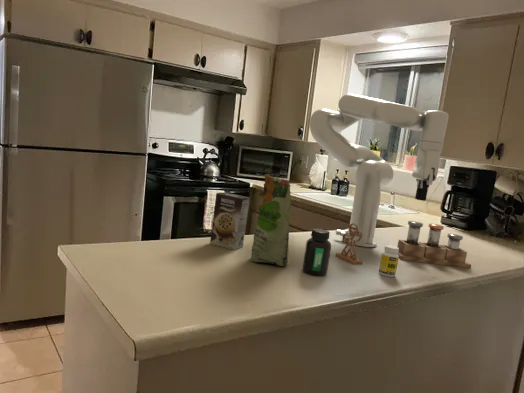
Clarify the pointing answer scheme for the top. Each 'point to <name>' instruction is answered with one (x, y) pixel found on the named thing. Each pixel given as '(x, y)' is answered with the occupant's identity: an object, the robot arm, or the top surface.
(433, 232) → the plug mid
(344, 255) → the tan toy soldier
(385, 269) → the supplement bottle
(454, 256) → the socket board
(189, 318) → the top surface
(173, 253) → the top surface
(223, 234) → the coffee box
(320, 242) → the supplement bottle
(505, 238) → the top surface
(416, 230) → the plug
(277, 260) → the pouch
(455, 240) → the plug
